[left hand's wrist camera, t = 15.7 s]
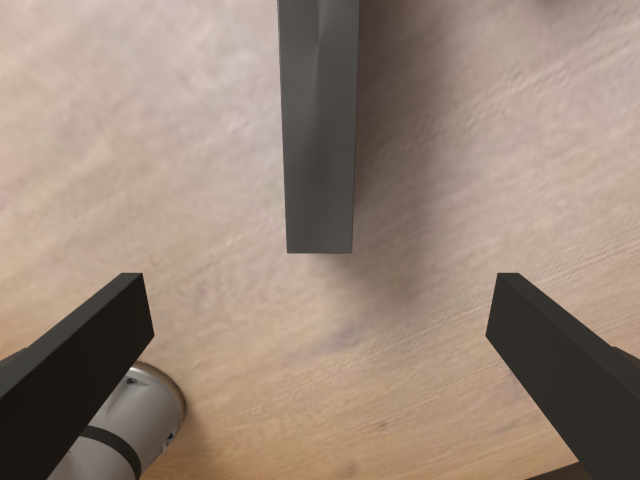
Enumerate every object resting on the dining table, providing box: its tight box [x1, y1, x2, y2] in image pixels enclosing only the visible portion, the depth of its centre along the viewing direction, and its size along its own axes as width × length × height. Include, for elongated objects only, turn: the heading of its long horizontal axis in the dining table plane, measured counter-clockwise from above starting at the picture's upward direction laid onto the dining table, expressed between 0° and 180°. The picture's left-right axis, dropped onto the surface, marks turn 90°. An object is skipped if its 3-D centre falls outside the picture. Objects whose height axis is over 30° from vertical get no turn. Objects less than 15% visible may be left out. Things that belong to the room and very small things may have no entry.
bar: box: [277, 0, 360, 253], centre depth 28 cm, size 32×6×9 cm, turn 0°
